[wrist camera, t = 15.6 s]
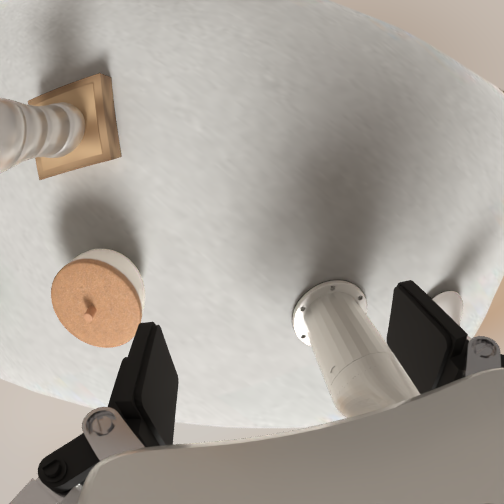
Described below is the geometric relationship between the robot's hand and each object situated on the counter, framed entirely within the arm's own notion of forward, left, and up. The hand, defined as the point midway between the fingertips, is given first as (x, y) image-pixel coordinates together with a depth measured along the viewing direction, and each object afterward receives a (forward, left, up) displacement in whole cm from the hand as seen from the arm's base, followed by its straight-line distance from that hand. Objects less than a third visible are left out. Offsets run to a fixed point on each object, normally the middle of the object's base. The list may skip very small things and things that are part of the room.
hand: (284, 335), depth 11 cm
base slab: (+12, +20, -30) cm, 38 cm away
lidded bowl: (-10, +20, -31) cm, 38 cm away
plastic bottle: (+12, +20, -26) cm, 35 cm away
